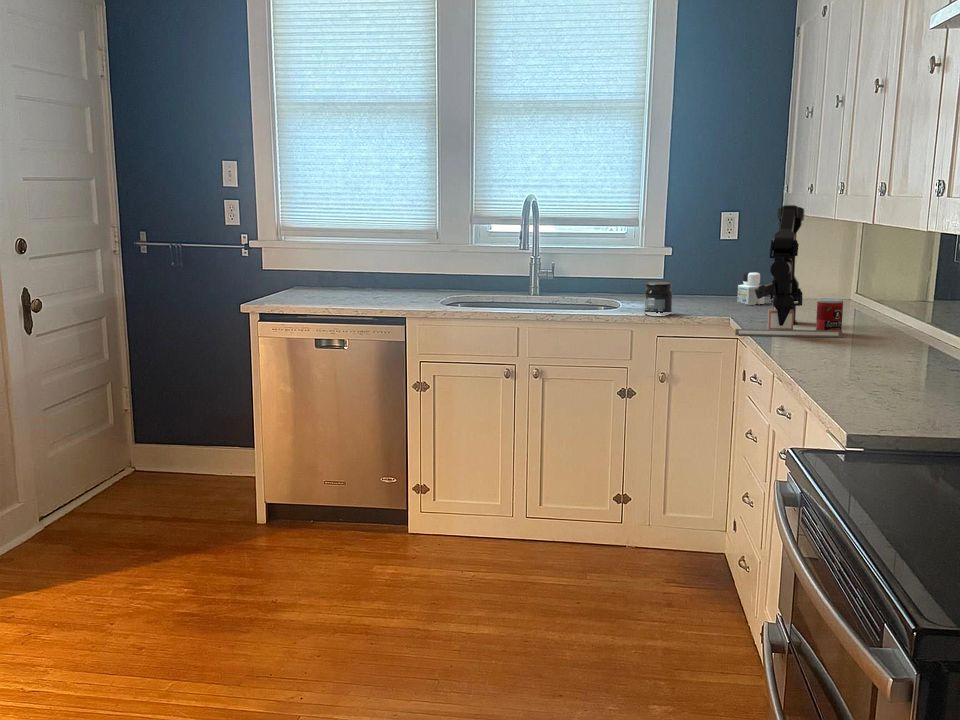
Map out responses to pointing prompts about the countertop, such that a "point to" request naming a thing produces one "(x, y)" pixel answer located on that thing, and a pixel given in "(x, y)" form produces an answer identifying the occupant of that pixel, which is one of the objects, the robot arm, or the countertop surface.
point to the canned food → (829, 314)
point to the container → (749, 289)
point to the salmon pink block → (774, 322)
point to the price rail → (788, 333)
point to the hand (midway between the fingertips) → (780, 324)
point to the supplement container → (658, 297)
